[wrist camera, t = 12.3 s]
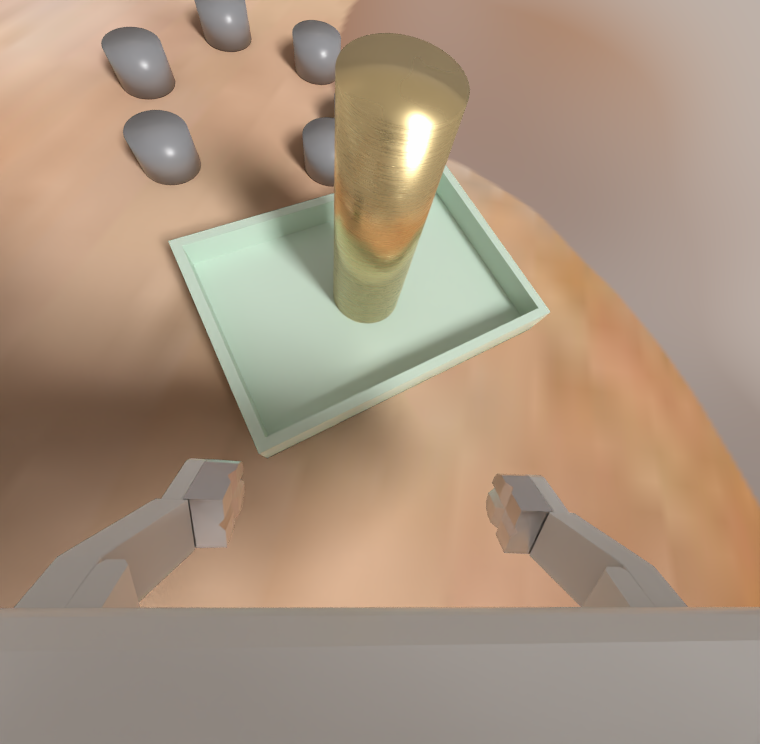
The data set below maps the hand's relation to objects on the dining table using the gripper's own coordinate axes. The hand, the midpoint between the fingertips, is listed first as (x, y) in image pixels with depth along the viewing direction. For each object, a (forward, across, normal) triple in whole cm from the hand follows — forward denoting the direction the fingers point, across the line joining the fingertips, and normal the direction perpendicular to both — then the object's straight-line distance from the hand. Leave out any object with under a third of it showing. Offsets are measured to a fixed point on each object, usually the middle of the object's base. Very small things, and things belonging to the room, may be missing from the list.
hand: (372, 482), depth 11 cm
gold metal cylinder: (+15, 0, +3) cm, 15 cm away
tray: (+15, 0, +2) cm, 16 cm away
